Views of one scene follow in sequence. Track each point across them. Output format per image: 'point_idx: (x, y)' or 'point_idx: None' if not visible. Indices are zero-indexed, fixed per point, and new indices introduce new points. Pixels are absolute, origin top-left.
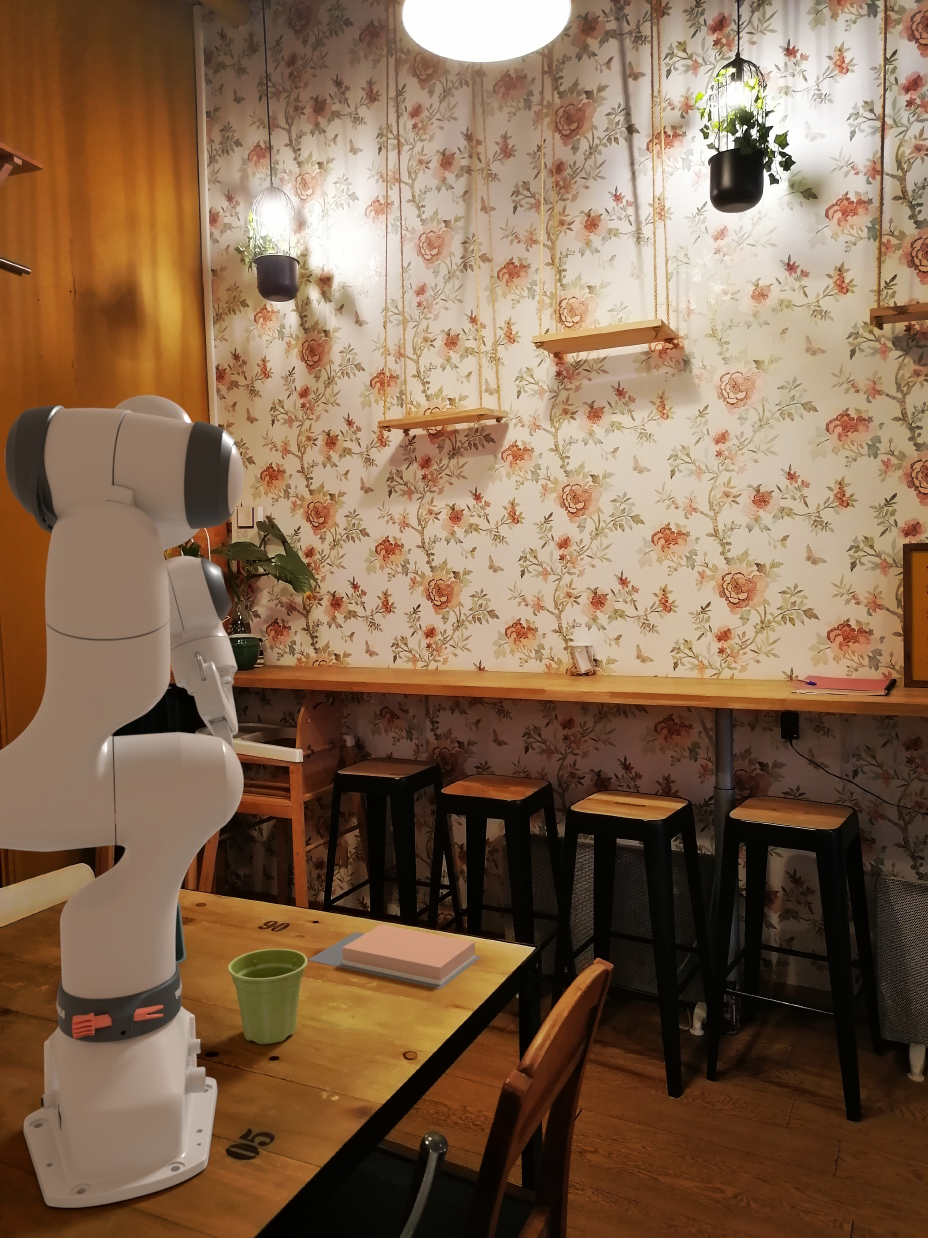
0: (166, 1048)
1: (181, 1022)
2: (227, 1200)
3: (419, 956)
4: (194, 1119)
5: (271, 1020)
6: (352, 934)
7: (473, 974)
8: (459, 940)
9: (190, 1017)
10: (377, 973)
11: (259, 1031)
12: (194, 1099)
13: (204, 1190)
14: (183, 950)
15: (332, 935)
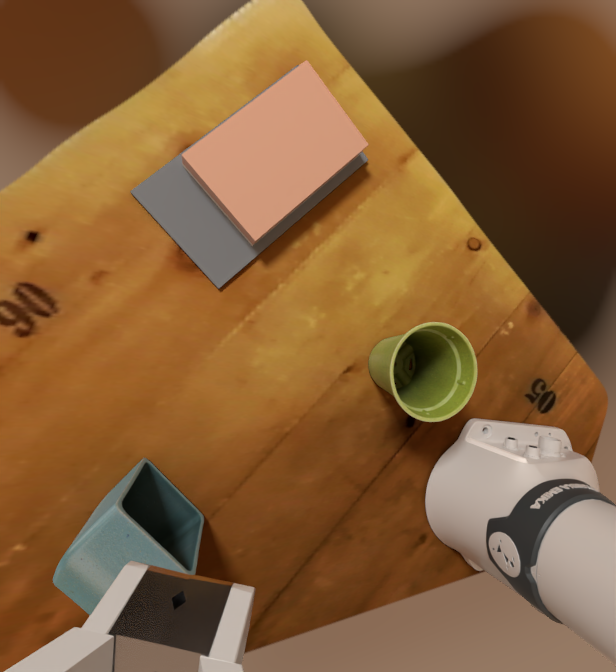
0: (590, 482)
1: (558, 472)
2: (585, 414)
3: (326, 153)
4: (522, 438)
5: (432, 367)
6: (139, 198)
7: None
8: (293, 76)
9: (528, 462)
10: (299, 212)
11: (421, 378)
12: (498, 439)
13: (573, 428)
14: (143, 465)
15: (117, 227)
